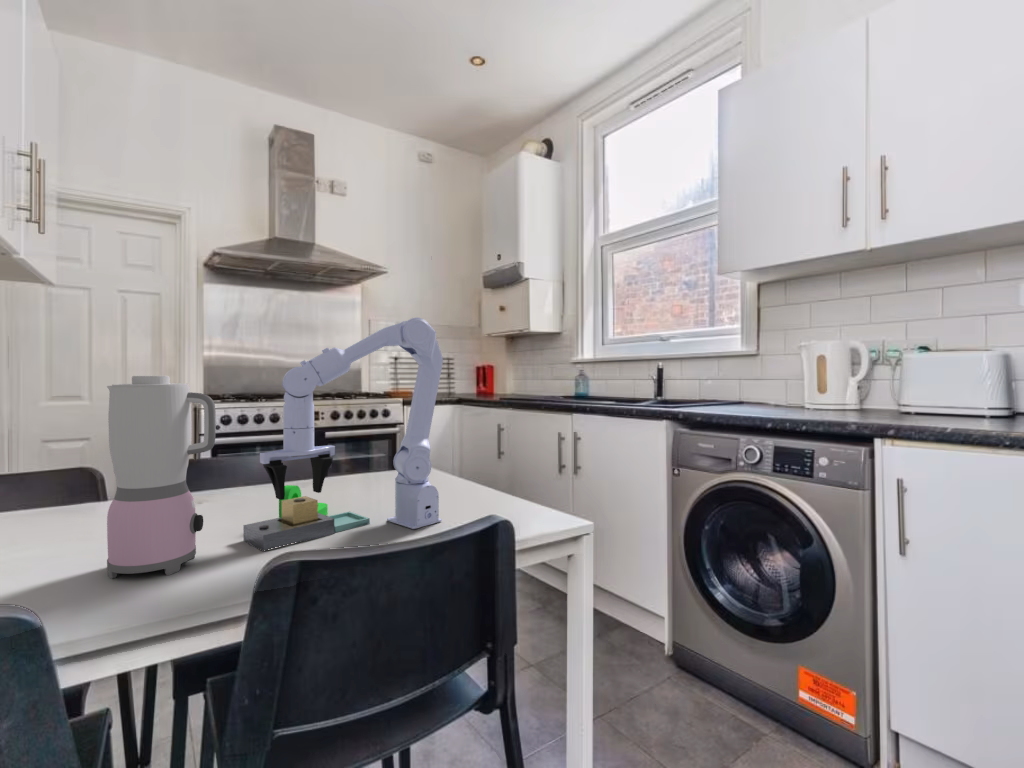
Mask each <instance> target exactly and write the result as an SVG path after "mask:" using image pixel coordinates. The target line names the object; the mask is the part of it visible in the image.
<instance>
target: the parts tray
mask: <svg viewBox="0 0 1024 768" xmlns="http://www.w3.org/2000/svg"><path fill="white" fill-rule="evenodd" d="M327 516H328V517H331V518H333V519H334V533H338V532H343V531H347V530H350V529H355V528H359V527H363V526H366V525H370V523H371V522H370V518H369V517H367V516H365V515H361V514H358V513H355V512H354V511H353V512H352V511H345V512H341V513H337V514H333V515H331V514H330V515H327Z"/></svg>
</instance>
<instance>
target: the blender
mask: <svg viewBox="0 0 1024 768" xmlns="http://www.w3.org/2000/svg"><path fill="white" fill-rule="evenodd" d="M170 381H171V379H170V376H169V375H132V376H131V383H113V384H111V385H107V386H106V388H107V389H108V391H109V392H108V393H109V397H108V399H109V400H108V414H107V415H108V421H107V422H108V423H107V424H108V444H109V445H108V447H109V454H110V457H111V458H110V459H111V463H112V468H113V472H114V473H113V474H114V476H115V481H116V491H115V495H114V498H113V499H112V501H111V503H110V504H109V508H108V511H107V516H106V527H107V528H106V531H107V533H106V534H107V536H106V538H107V539H106V540H107V559H106V570H107V575H108V577H109V579H115V578H117V575H118V574H125V575H126V574H143V573H149V572H155V571H161V570H164V574H165V575H166V576H170V575H172V574H176V573H178V572H179V571H181V564H184V563H185V562H187V561H189V560H192V559H195V557H196V554H197V544H196V543H197V542H196V540H197V539H196V538H197V537H196V533H197V532H200V531H202V530H203V528H204V527H203V526H204V517H203V514H198V513H197V512H196V502H195V498H194V496H193V494H192V493H191V491H190V489H189V487H188V484H187V471H188V467H189V463H190V462H189V460H190V456H191V455H195V454H196V455H197V454H201V453H205V452H209V451H210V450H212V449H213V448H214V447H215V444H216V428H217V427H216V426H217V423H216V420H217V419H216V418H217V417H216V404H215V402H214V400H213V399H212V398H211V397H210V396H209V395H207V394H206V393H205V394H204V393H200V392H191V390H190V389H191V388H190V385H189V384H188V383H179V382H178V383H176V382H175V383H173V382H172V383H171V382H170ZM192 403H193V404H200V405H202V406H203V417H204V418H203V423H204V424H203V432H204V433H203V441H202V442H198V443H193V444H192V439H193V438H192V437H193V436H192V434H193V433H192V430H193V429H192V427H193V426H192V425H193V424H192V405H191V404H192Z"/></svg>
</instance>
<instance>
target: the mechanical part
mask: <svg viewBox="0 0 1024 768" xmlns="http://www.w3.org/2000/svg"><path fill="white" fill-rule="evenodd" d="M298 497H302V490H301V487H299V486H298V485H294V484H293V485H291V484H290V485H288V484H286V485H285V496H284V499H282V500H287V499H293V498H298ZM282 500H280V499H278V518H280V517H282V502H281V501H282ZM328 509H329V507H328V504H327V503H325V502H318V513H320V514H323V515H325V516H328V513H329V511H328Z"/></svg>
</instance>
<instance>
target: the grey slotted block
mask: <svg viewBox="0 0 1024 768" xmlns="http://www.w3.org/2000/svg"><path fill="white" fill-rule="evenodd" d="M328 516H329V515H326V516H325V515H323V514H320V513H318V521H314V522H310V523H306V524H301V525H297V526H292V527H291V526H288V525H286V524H284V523H282V517H280V518H279V517H277V518H271V519H267V520H263V521H257V522H252V523H247V524H243V529H242V530H243V542H245V541H246V542H245V543H247V542H248V544H249V545H251V546H252V545H253V546H252V547H254V546H255V547H254V548H256V547H257V548H256V549H258V548H259V549H258V550H260V549H261V550H263V551H264V550H268V549H271V548H275V547H279V546H283V545H287V544H291V543H295V542H299V543H301V542H300V541H303V542H307V541H311V540H315V539H317V538H318V539H319V538H323V537H327V536H330V535H335V532H334V519H333V518H331V517H328ZM306 540H307V541H306ZM295 544H296V543H295ZM261 550H260V551H261ZM263 551H262V552H263ZM268 551H269V550H268ZM264 552H265V551H264Z"/></svg>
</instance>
